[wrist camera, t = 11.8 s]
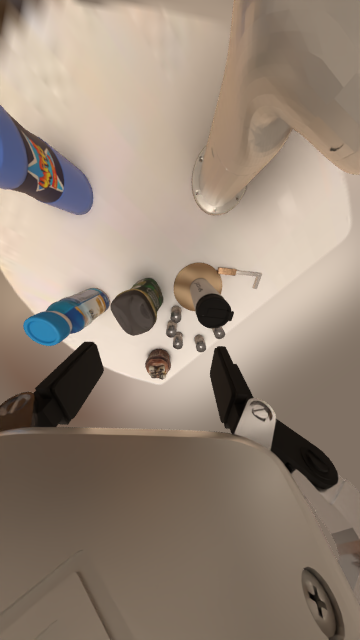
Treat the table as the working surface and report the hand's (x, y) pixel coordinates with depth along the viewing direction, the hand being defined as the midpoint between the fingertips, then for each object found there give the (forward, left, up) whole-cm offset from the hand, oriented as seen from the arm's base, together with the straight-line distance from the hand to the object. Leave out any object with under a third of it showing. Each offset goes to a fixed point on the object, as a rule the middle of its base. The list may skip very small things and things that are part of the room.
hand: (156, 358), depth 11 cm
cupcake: (+31, -3, -34) cm, 46 cm away
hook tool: (-2, +19, -34) cm, 39 cm away
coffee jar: (+5, -7, -34) cm, 35 cm away
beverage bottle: (+9, -24, -34) cm, 43 cm away
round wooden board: (+2, +8, -34) cm, 35 cm away
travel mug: (+2, +8, -34) cm, 35 cm away
